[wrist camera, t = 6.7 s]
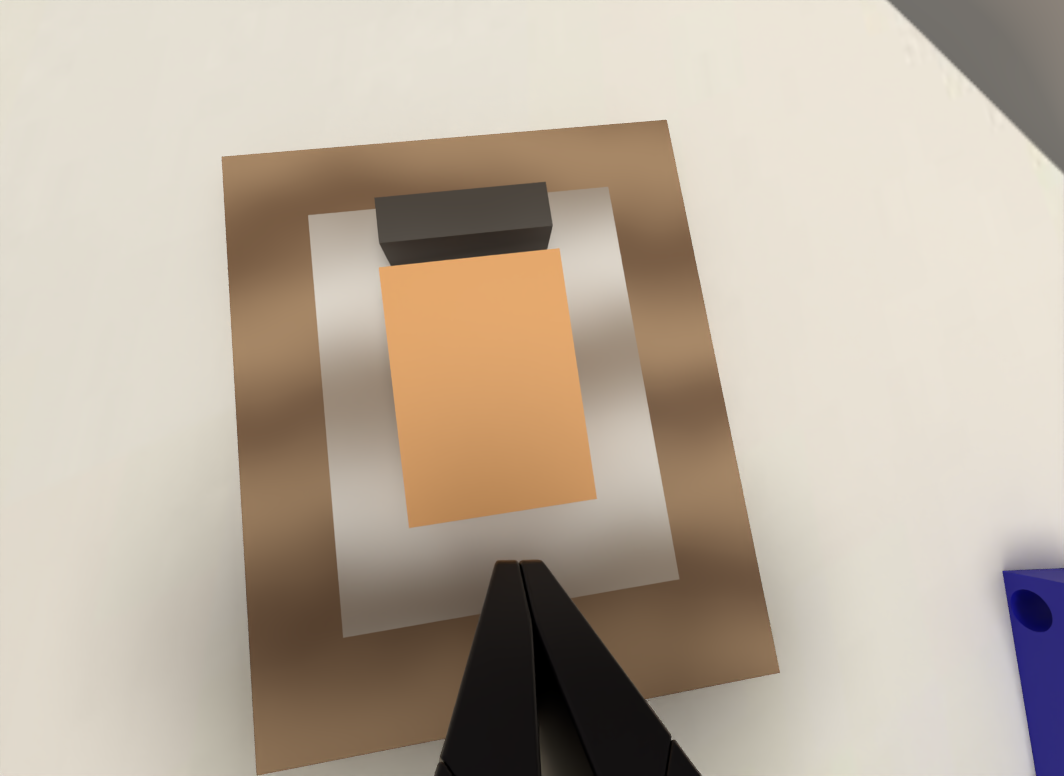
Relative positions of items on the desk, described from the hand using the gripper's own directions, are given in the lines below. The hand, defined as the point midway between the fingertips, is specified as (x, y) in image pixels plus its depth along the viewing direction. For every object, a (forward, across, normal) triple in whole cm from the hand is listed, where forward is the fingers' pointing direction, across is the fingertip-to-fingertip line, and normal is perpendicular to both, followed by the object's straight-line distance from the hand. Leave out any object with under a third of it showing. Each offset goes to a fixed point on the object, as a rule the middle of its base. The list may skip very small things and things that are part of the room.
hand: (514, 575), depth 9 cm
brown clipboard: (+11, -1, +3) cm, 11 cm away
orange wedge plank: (+7, 0, 0) cm, 7 cm away
